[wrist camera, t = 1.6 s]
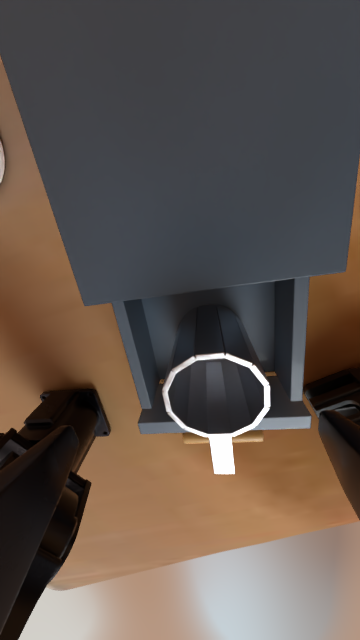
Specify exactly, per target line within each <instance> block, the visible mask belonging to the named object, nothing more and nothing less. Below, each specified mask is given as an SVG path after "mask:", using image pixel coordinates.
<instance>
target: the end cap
mask: <svg viewBox="0 0 360 640" xmlns="http://www.w3.org/2000/svg"><path fill="white" fill-rule="evenodd" d="M303 392H304V394H305V396H306V397H307V399H308V401H309V403H310V404H311V406H312V408H313V410H314V412H315V413H316V415H317V417H318V419H319V414H320V412H321V411H322V410H335V411H337V412H339V413H340V414H342V415H343V416H345V417H346V418H348V419H349V420H351V421H352V422H354V423H355V424H357V425H359V426H360V368H353V369H348V370H344V371H341V372H338V373H336V374H333V375H330V376H328V377H325V378H323V379H320V380H318V381H315V382H313V383H310V384H308V385H306V386H305V387H304V388H303Z"/></svg>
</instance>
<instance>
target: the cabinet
mask: <svg viewBox="0 0 360 640" xmlns="http://www.w3.org/2000/svg"><path fill="white" fill-rule="evenodd" d="M0 55H1V58H2V61H3V64H4V67H5V70H6V73H7V76H8V79H9V82H10V85H11V88H12V91H13V94H14V97H15V100H16V103H17V106H18V109H19V112H20V115H21V118H22V121H23V124H24V127H25V130H26V133H27V136H28V139H29V142H30V145H31V148H32V151H33V154H34V157H35V160H36V163H37V166H38V169H39V172H40V175H41V178H42V181H43V184H44V187H45V190H46V193H47V196H48V199H49V202H50V205H51V208H52V211H53V214H54V217H55V220H56V223H57V226H58V229H59V232H60V235H61V238H62V241H63V243H64V246H65V249H66V252H67V255H68V258H69V261H70V264H71V267H72V270H73V273H74V276H75V279H76V282H77V285H78V288H79V291H80V294H81V297H82V300H83V303H84V306H90V305H98V304H105V303H113V302H120V301H128V300H136V299H143V298H151V297H159V296H166V295H174V294H181V293H189V292H197V291H204V290H212V289H219V288H227V287H235V286H242V285H250V284H258V283H265V282H273V281H280V280H288V279H296V278H303V277H311V276H319V275H326V274H334V273H341V272H346V266H347V258H348V249H349V241H350V233H351V224H352V216H353V207H354V199H355V191H356V182H357V174H358V165H359V157H360V0H0Z"/></svg>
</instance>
